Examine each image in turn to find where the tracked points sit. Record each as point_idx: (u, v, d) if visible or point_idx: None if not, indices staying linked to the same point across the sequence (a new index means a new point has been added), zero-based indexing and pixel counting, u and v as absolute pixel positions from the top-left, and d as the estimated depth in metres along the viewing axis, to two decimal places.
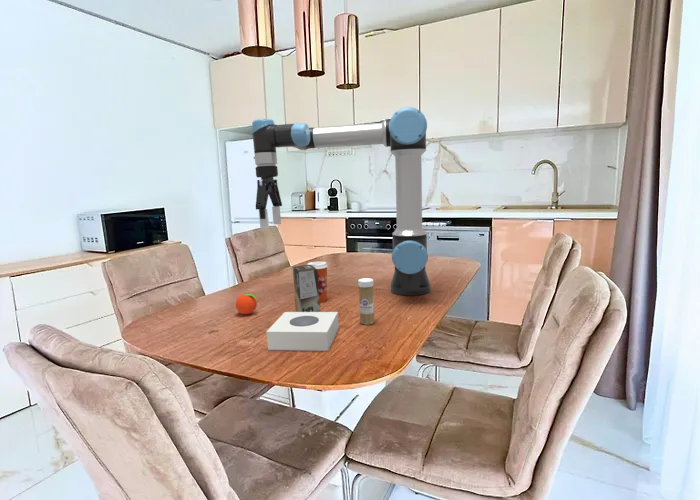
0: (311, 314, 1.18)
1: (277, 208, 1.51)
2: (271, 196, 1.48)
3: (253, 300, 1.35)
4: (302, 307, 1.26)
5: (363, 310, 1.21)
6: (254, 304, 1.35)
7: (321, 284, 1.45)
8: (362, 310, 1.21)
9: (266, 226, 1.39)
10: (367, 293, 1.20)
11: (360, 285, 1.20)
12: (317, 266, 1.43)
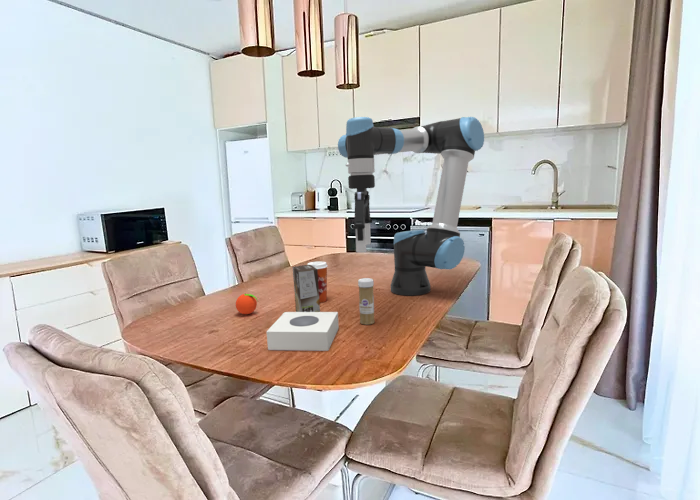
0: (311, 314, 1.18)
1: (367, 225, 1.25)
2: None
3: (253, 300, 1.35)
4: (302, 307, 1.26)
5: (363, 310, 1.21)
6: (254, 304, 1.35)
7: (321, 284, 1.45)
8: (362, 310, 1.21)
9: (364, 249, 1.12)
10: (367, 293, 1.20)
11: (360, 285, 1.20)
12: (317, 266, 1.43)
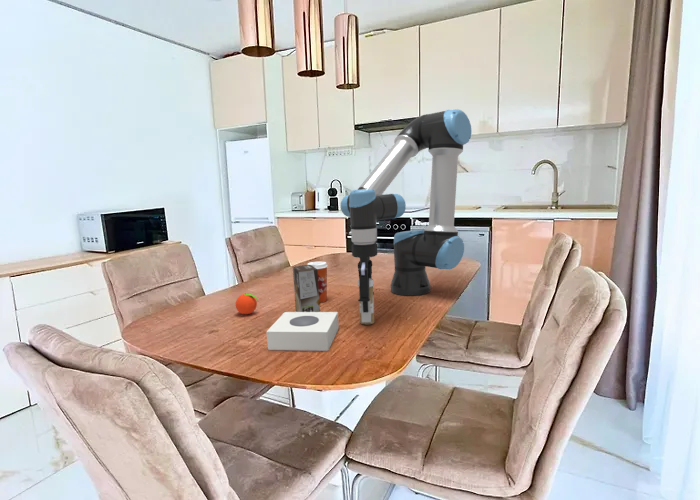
0: (311, 314, 1.18)
1: None
2: None
3: (253, 300, 1.35)
4: (302, 307, 1.26)
5: None
6: (254, 304, 1.35)
7: (321, 284, 1.45)
8: None
9: (369, 320, 1.20)
10: None
11: None
12: (317, 266, 1.43)
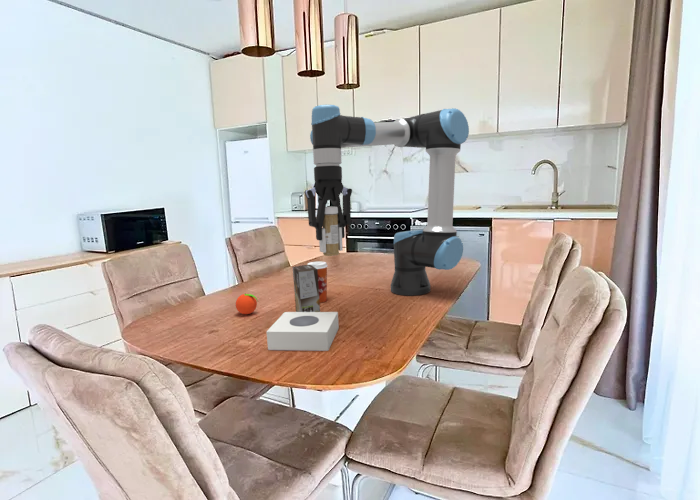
0: (311, 314, 1.18)
1: (338, 229, 1.13)
2: None
3: (253, 300, 1.35)
4: (302, 307, 1.26)
5: None
6: (254, 304, 1.35)
7: (321, 284, 1.45)
8: None
9: (322, 250, 1.12)
10: (324, 221, 1.11)
11: None
12: (317, 266, 1.43)
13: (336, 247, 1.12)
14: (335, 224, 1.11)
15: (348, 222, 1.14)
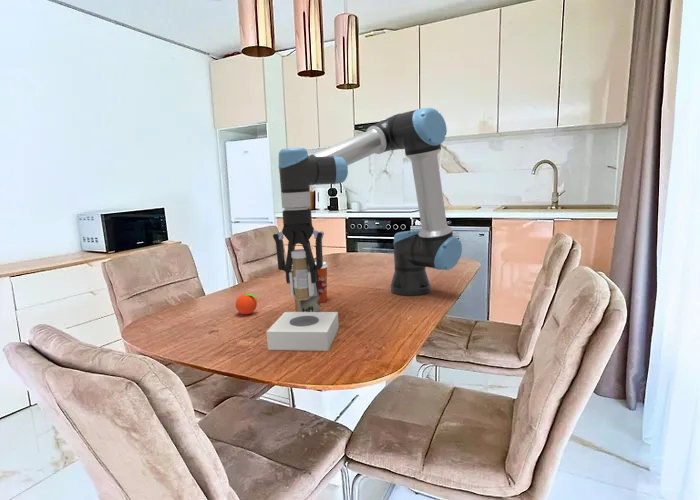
0: (311, 314, 1.18)
1: None
2: None
3: (253, 300, 1.35)
4: (302, 307, 1.26)
5: None
6: (254, 304, 1.35)
7: (321, 284, 1.45)
8: None
9: None
10: None
11: None
12: None
13: (303, 292, 1.09)
14: (301, 269, 1.08)
15: (318, 267, 1.08)
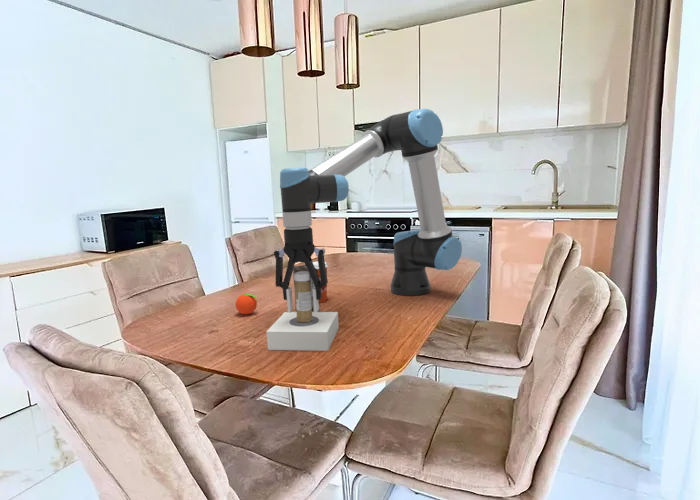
0: None
1: None
2: None
3: (253, 300, 1.35)
4: None
5: None
6: (254, 304, 1.35)
7: None
8: None
9: None
10: (295, 286, 1.10)
11: None
12: (317, 266, 1.43)
13: (305, 314, 1.10)
14: (303, 291, 1.09)
15: (323, 284, 1.08)
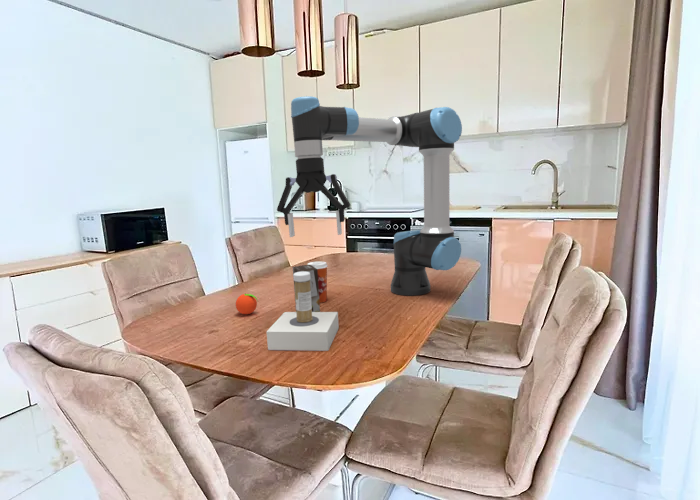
0: None
1: None
2: None
3: (253, 300, 1.35)
4: None
5: None
6: (254, 304, 1.35)
7: (321, 284, 1.45)
8: None
9: None
10: None
11: None
12: (317, 266, 1.43)
13: (305, 314, 1.10)
14: (303, 292, 1.09)
15: (346, 206, 1.10)
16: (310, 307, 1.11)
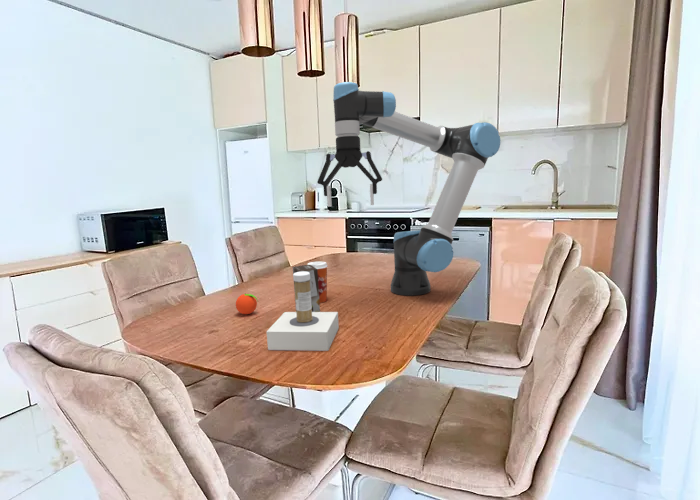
0: None
1: (370, 186, 1.26)
2: None
3: (253, 300, 1.35)
4: None
5: None
6: (254, 304, 1.35)
7: (321, 284, 1.45)
8: None
9: None
10: None
11: None
12: (317, 266, 1.43)
13: (305, 314, 1.10)
14: (303, 292, 1.09)
15: (379, 179, 1.25)
16: (310, 307, 1.11)
